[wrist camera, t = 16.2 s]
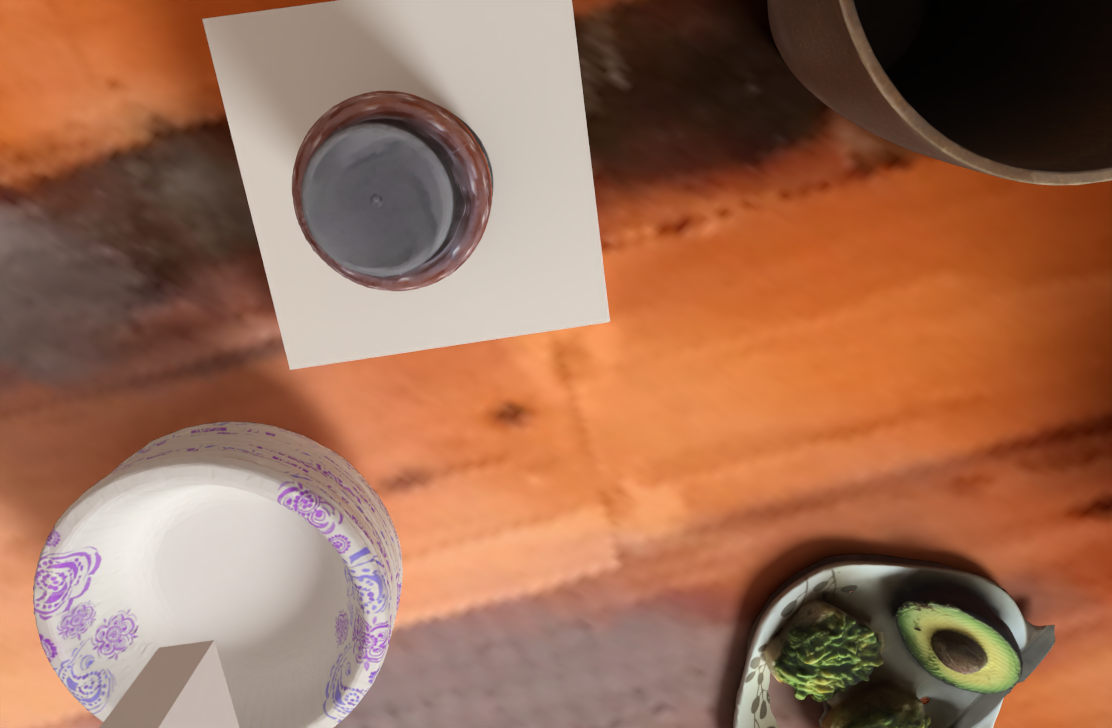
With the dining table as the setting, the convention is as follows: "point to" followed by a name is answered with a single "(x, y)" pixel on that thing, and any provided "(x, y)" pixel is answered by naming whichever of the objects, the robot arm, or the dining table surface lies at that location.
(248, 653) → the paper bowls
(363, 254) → the supplement bottle
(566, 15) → the white flat block
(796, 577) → the salad plate
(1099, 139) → the plant pot
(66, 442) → the dining table surface
